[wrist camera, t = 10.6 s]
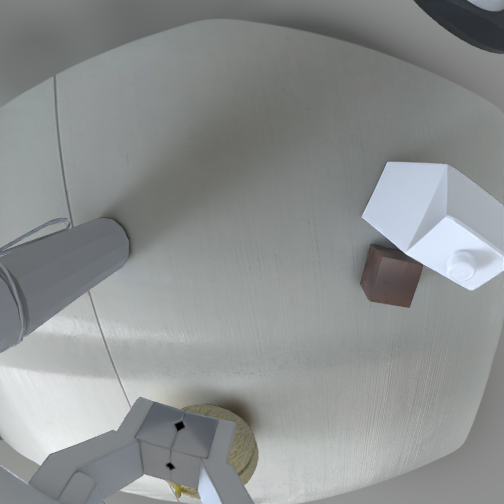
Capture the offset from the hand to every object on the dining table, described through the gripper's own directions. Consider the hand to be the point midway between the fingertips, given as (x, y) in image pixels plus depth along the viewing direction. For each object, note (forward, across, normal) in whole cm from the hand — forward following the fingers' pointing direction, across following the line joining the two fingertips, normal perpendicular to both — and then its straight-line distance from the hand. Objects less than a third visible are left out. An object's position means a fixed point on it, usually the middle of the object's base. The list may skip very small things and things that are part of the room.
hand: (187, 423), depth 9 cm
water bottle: (+29, +20, +5) cm, 36 cm away
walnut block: (+29, -15, +2) cm, 33 cm away
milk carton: (+29, -15, -6) cm, 33 cm away
